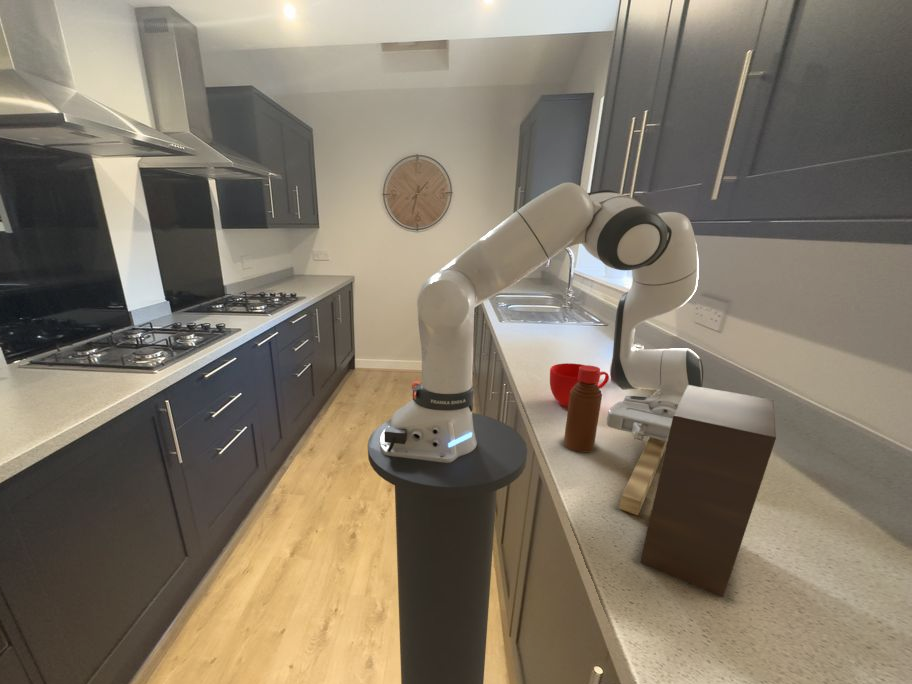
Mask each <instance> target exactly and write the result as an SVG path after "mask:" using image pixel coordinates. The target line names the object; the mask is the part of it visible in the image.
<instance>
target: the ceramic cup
mask: <svg viewBox="0 0 912 684" xmlns="http://www.w3.org/2000/svg"><path fill="white" fill-rule="evenodd" d="M583 365H584V364H582V363H572V362H571V363H565V362H564V363H557V364H554V365H552V366H551V367H550V369H549V387H550V392H551V393H552V395H553V397H554V399H555V400H556V401H557V403H558V404H559V405H560V406H562V407H565V408H568V405H569V398H570V391H571V390H572V387H574V386H575V385H576V384H577V383H578V382H579V380H578V372H579V367H580V366H583ZM601 376H604V379H603V381H602V382H601V383H600V380H601ZM609 379H610V374H609V373H608V372H606V371H600V374H599V380H598V382H597V383H596V384H597V385H598V387H599V389H600V390H601V389H602V388H604V386H606V385H607V383H608V382H609Z"/></svg>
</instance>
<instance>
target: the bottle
mask: <svg viewBox="0 0 912 684" xmlns="http://www.w3.org/2000/svg"><path fill="white" fill-rule="evenodd" d="M598 385H599V384H598ZM598 385H597V384H596V383H592V384H590V383H583V382H580V381H579V382H578V383H577V384H576V385H575V386H574V387H572V390H571V391H570V398H569V405H568V407H567V413H566V420H565V421H566V422H565V430H564V436H563V446H564V447H565V448H567V449H568V450H570V451H574V452H577V453H589V452H592V451H593V450H594V448H595V443H596V436H597V430H598V424H599V417H600V411H601V404H602V397H603V393H602V390H601V388H600V389H599V387H598Z"/></svg>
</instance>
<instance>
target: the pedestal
mask: <svg viewBox="0 0 912 684" xmlns="http://www.w3.org/2000/svg"><path fill="white" fill-rule="evenodd" d="M776 427H777V426H776V412H775V400H774V399H772V398H767V397H766V398H765V397H760V396H754V395H748V394H743V393H738V392H732V391H726V390H719V389H714V388H709V387H703V386H702V387H697V386H691V385H687V388H686V390H685V392H684V394H683V396H682V398H681V400H680V403H679V405H678V407H677V409H676V411H675V413H674V415H673V419H672V424H671V428H670V432H669V437H668V441H667V446H666V447H665V450H664V453H663V459H662V464H661V467H660V472H659V476H658V481H657V485H656V490H655V494H654V498H653V503H652V508H651V512H650V515H649V519H648V520H649V521H648V525H647V529H646V534H645V538H644V542H643V546H642V551H641V556H640V559H639V562H640V563H641V564H644V565H645V566H649V567H651V568H653V569H655V570H658V571H660V572H663V573H665V574H668V575H670V576H673V577H675V578H677V579H679V580H682V581H685V582H687V583H689V584H692V585H694V586H696V587H698V588H701V589H703V590H706V591H709V592H711V593H714V594H715V595H717V596H721V597H724V596H725V593H726V591H727V587H728V585H729V581H730V579H731V575H732V572H733V570H734V568H735V567H734V566H735V564H736V560H737V557H738V555H739V552H740V548H741V545H742V542H743V539H744V537H745V533H746V531H747V527H748V524H749V521H750V518H751V515H752V512H753V509H754V506H755V503H756V500H757V497H758V494H759V491H760V489H761V486H762V482H763V479H764V476H765V473H766V470H767V467H768V464H769V461H770V459H771V456H772V455H771V454H772V452H773V449H774V446H775V443H776V440H777V429H776Z"/></svg>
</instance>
